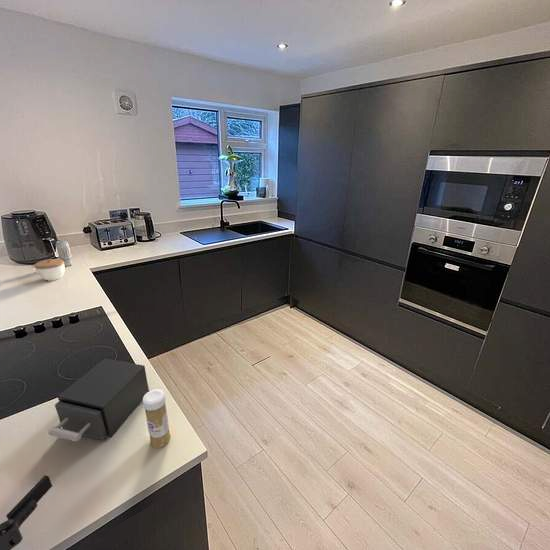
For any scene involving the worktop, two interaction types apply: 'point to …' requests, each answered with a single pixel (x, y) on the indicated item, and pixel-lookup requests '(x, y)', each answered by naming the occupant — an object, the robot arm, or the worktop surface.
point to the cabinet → (110, 391)
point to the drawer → (78, 422)
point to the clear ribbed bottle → (64, 252)
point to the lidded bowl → (50, 269)
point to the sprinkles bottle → (157, 418)
